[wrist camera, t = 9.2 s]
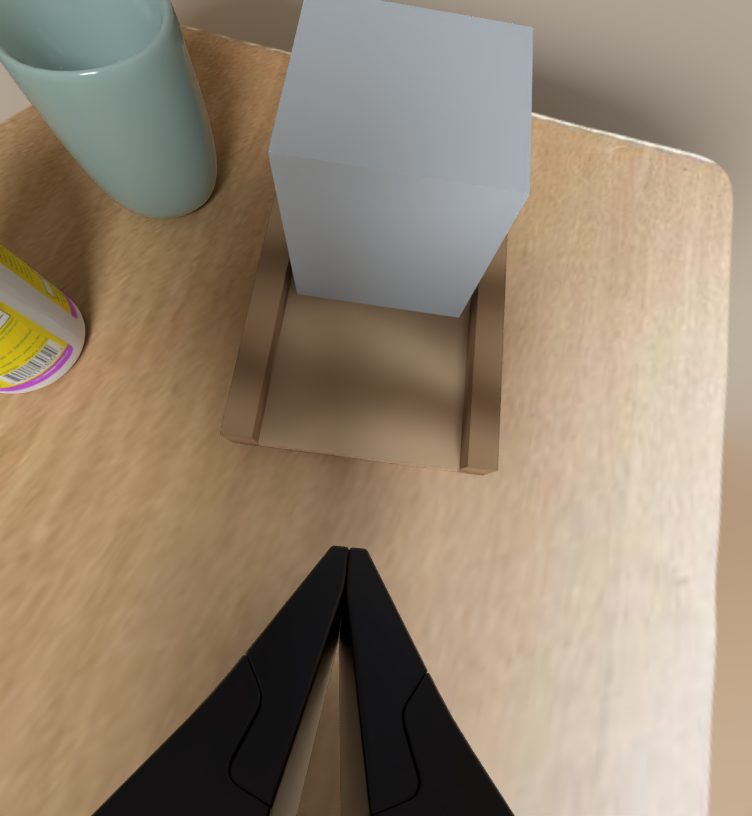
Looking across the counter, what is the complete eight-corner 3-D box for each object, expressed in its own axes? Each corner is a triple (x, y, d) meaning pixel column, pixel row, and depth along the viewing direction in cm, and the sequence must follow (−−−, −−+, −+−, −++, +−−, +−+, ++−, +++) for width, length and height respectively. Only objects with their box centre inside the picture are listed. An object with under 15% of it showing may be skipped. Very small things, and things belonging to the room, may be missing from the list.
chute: (482, 475, 24) (502, 469, 21) (232, 442, 23) (216, 431, 20) (498, 170, 29) (514, 132, 27) (298, 137, 29) (294, 95, 26)
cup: (99, 154, 27) (-34, -44, 18) (216, 132, 28) (151, -65, 19) (121, 251, 26) (-13, 90, 16) (244, 223, 27) (189, 57, 17)
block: (458, 317, 25) (529, 193, 16) (297, 294, 25) (267, 151, 15) (466, 198, 28) (533, 27, 18) (320, 175, 27) (307, -13, 18)
